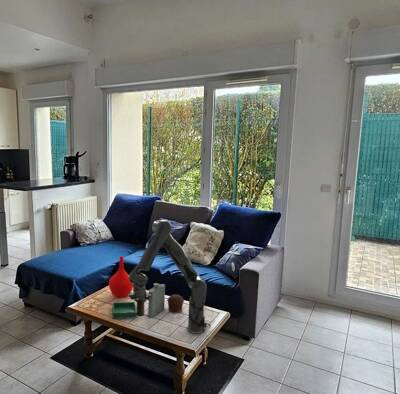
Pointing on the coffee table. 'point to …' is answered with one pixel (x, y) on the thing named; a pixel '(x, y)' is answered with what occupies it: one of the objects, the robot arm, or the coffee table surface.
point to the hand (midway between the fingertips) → (140, 300)
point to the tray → (124, 310)
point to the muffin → (175, 303)
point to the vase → (120, 282)
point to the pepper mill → (140, 307)
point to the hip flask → (156, 299)
